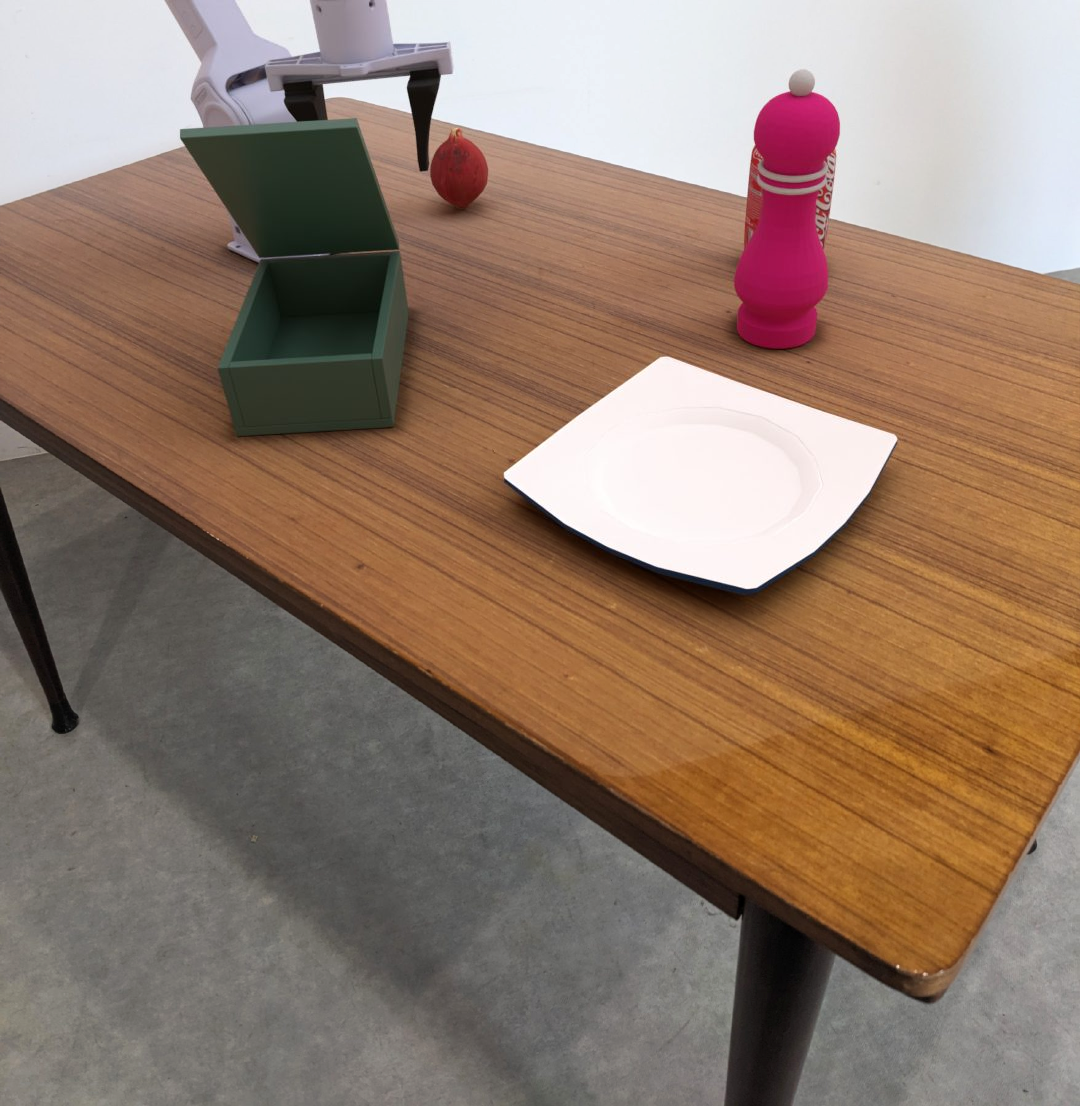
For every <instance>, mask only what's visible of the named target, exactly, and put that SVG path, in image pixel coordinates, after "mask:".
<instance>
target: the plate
mask: <svg viewBox="0 0 1080 1106" xmlns="http://www.w3.org/2000/svg"><path fill="white" fill-rule="evenodd" d="M898 440H899V439H898V437H897V436H896V434H895V433H891V432H888V431H885V430H882V429H879V428H875V427H873V426H869V425H867V424H863V423H860V422H857V421H854V420H851V419H848V418H844V417H842V416H839V415H835V414H832V413H828V412H826V411H823V410H820V409H817V408H814V407H811V406H808V405H805V404H802V403H801V402H800V403H799V402H797V401H794V400H791V399H787V398H785V397H783V396H780V395H776V394H774V393H770V392H768V391H765V390H762V389H759V388H756V387H754V386H751V385H747V384H744V383H742V382H738V381H736V380H733V379H731V378H728V377H725V376H722V375H720V374H717V373H714V372H712V371H708V370H707V369H703V368H702V367H701V368H700V367H697V366H695V365H692V364H689V363H687V362H684V361H681V360H679V359H675V358H673V357H671V356H659V358H657V359H656V360H655V361H653V362H652V363H651V364H649V365H648V366H646V367H644V368H643V369H641V370H640V371H639V372H637V373H636V374H635V375H633V376H632V377H630V378H629V379H627V380H626V381H624V382H623V383H622V384H621V385H619V386H618V387H616V388H615V389H613V390H612V391H611V392H610V393H608V394H606V395H605V396H604V397H602V398H601V399H600V400H598V401H597V402H595V403H594V404H592V405H591V406H590V407H588V408H587V409H585V410H584V411H583V412H581V413H580V414H578V415H577V416H576V417H574V418H573V419H572V420H571V421H569V422H567V424H565V425H564V426H562V427H561V428H559V430H557V431H556V432H555V433H553V434H552V435H551V436H549V437H548V438H546V440H545V441H543V442H542V443H540V444H539V445H537V446H536V447H535V448H533V450H531V451H530V452H529V453H527V454H526V455H525V456H524V457H522V458H521V459H520V460H518V461H517V462H516V463H514V464H513V465H512V466H511V467H509V468H508V469H507V470H506V471H504V472H503V482H504V484H506V485H507V487H510V488H511V490H513V491H514V492H516V493H517V494H519V495H520V496H521V497H523V498H524V499H525V500H526V501H528V502H529V503H530V504H532V505H533V506H535V507H536V508H537V509H538V510H540V511H541V512H542V513H544V514H545V515H546V516H547V517H549V518H550V519H552V520H553V521H554V522H556V523H557V524H558V525H560V526H561V527H562V528H563V529H565V530H566V531H567V532H569V533H572V534H573V535H574V536H577V537H579V538H581V539H583V540H584V541H586V542H588V543H590V544H592V545H594V546H595V547H597V548H599V549H601V550H603V551H605V552H607V553H609V554H611V555H613V556H616V557H618V558H620V559H623V560H626V561H628V562H630V563H632V564H635V565H637V566H639V567H642V568H644V569H647V570H649V571H651V572H654V573H656V574H659V575H662V576H666V577H670V578H674V579H677V580H680V581H681V580H682V581H685V582H689V583H693V584H696V585H701V586H704V587H709V588H712V589H716V590H721V591H724V592H728V593H733V594H736V595H740V596H743V595H753V594H757V593H759V592H760V591H762V590H763V589H766V587H768V586H769V585H771V584H772V583H774V582H776V581H778V580H779V579H781V578H783V576H785V575H786V574H788V573H790V572H792V571H794V569H796V568H797V567H799V566H800V565H802V564H804V563H805V562H807V561H808V560H811V558H813V557H814V556H815V555H816V554H817V553H818V552H819V551H821V550H822V549H823V548H824V547H825V546H826V545H827V544H828V543H829V542H830V541H831V540H832V539H833V538H835V536H836V535H838V534H839V533H840V532H841V531H842V530H843V529H844V528H845V527H846V526H847V525H848V523H850V521H851V519H852V518H853V517H854V516H855V515H856V513H857V512H858V510H859V509H860V508H861V507H862V506H863V504H864V503H865V502H866V500H867V499H868V498H869V496H870V495H871V493H872V491H873V489H874V487H875V486H876V484H877V482H878V480H879V478H880V476H881V474H882V473H883V471H884V468H885V467H886V465H887V463H888V462H889V460H890V458H891V456H892V454H893V452H894V451H895V448H896V447H897V445H898Z"/></svg>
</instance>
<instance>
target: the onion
mask: <svg viewBox="0 0 1080 1106" xmlns="http://www.w3.org/2000/svg"><path fill="white" fill-rule="evenodd" d="M429 168H430V169H429V171H430V172H429V174H430V175H429V176H430V180H431V184H432V186H433V188H434V189H435V191H436V193H437V194H438V196H439V197H440V198H441V199H442V200H444V201H445V202H446V203H448V204H450V205H452V206H454V207H456V208H457V209H460V210H464V209H467V208H468V207H469V206H471V204H472V203H474V202H475V201H476V200H477V199H478V198H479V197H480V195H481V194H482V193H483V192H484V191H485V189H486V186H487V184H488V177H489V168H488V161H487V160H486V157H485V155H484V153H483V152H482V150H481V149H480V148H479V147H478V146H477V145H476V144H475V142H473V141H471V140H470V139H468V138H466V137H464V135H463V129H461V128H459V127H458V126H455V127H454V128H451V129H450V133H449V135H448V138H447V139H446V140H445V141H444V142H442V143H441V144H440V145H439V146H438V147H437V149H436V150H435V152H434V154H433V156H432V159H431V162H430V166H429Z"/></svg>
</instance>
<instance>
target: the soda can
mask: <svg viewBox="0 0 1080 1106" xmlns="http://www.w3.org/2000/svg"><path fill="white" fill-rule="evenodd" d="M761 160H763V157H762V156H761V155H760V153H759V152H758V150H757V149H756V146H755V145H754V146H753V148H752V150H751V156H750V162H749V163H750V164H749V172H748V182H747V183H748V184H747V195H746V208H745V221H744V231H743V234H744V236H743V250H744V249H745V247H746V245H747V244H748V242H749V240H750V238H751V237H752V235H753V233H754V231H755V229H756V227H757V224H758V221H759V218H760V215H761V209H762V201H763V198H762V187H761V186H759V184H758V183H757V176H758V175H759V170H758V164H759V162H760V161H761ZM824 161H825V162H826V163H827V165H828V171H827V173H826V178H827V181H826V184H825V186H824V187H823V188H821V189H820V190H819V193H818V197H817V201H816V210H815V221H816V229H817V232H818V236H819V239H820V242H821V245H822V247H823V250H824V251H825V247H826V242H827V237H828V229H829V222H830V215H831V207H832V199H833V192H834V183H835V174H836V164H837V149H836V148H835V149H834V151H833V152H832V153H831V154H830V155H829V156H828V157H827V158H826V159H825V160H824Z"/></svg>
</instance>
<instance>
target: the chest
mask: <svg viewBox="0 0 1080 1106" xmlns="http://www.w3.org/2000/svg"><path fill="white" fill-rule="evenodd" d="M401 255H402V254H401V251H400V250H387V251H370V252H354V253H337V254H330V255H322V256H306V257H289V258H273V259H260V262H259V263H258V265H257V267H256V269H255V272H254V275H253V277H252V280H251V281H250V284H249V287H248V289H247V292H246V294H245V297H244V299H243V303H242V305H241V308H240V309H239V311H238V314H237V317H236V319H235V323H234V324H233V327H232V330H231V332H230V335H229V338H228V340H227V343H226V345H225V348H224V349H223V352H222V355H221V357H220V361H219V362H218V365H217V372H218V376H219V379H220V383H221V386H222V391H223V393H224V397H225V399H226V403H227V406H228V407H227V408H228V411H229V413H230V417H231V421H232V424H233V427H234V431H235V435H236V437H249V436H250V437H251V436H266V435H268V436H269V435H281V434H282V435H283V434H285V435H286V434H299V433H316V432H317V433H318V432H329V431H330V432H332V431H333V432H334V431H351V430H366V429H382V428H383V429H384V428H393V427H394V426H395V420H396V419H395V418H396V412H397V405H398V398H399V389H400V382H401V375H402V369H403V360H404V353H405V346H406V338H407V330H408V323H409V316H410V312H409V311H410V310H409V307H408V306H409V304H408V297H407V291H406V285H405V284H406V283H405V277H404V270H403V263H402V256H401Z"/></svg>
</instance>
